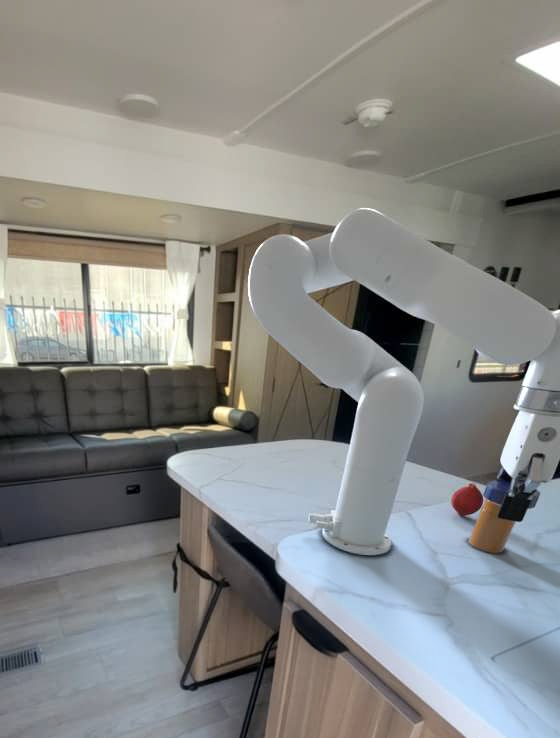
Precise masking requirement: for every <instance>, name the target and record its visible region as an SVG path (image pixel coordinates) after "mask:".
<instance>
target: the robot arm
mask: <svg viewBox="0 0 560 738" xmlns="http://www.w3.org/2000/svg"><path fill="white" fill-rule="evenodd" d="M247 281H248V282H247V290H248V297H249V302H250V306H251V309H252V312H253V314H254V316H255V317H256V319H257V321H258V323H259V325H260V326H261V327H262V328H263V329H264V331H266V333H267V334H268V335H269V336H271V338H272V339H274V340H275V341H276V342H277V343H278V344H279V345H281V346H282V347H283V348H284V349H285V350H286V351H287V352H288V353H290V355H291V356H292V357H294V358H295V359H296V361H298V362H299V363H300V364H301V365H302V366H304V367H305V368H306V369H307V370H309V371H310V372H311V373H312V374H313V375H314V376H315V377H316V378H318V380H319V381H320V382H321V383H323V384H324V385H325V386H327V387H329V388H333V389H341V390H343V391H344V392H345V394H347V395H348V396H350V397H351V399H353V400H355V402H357V403H358V404H357V406H356V407H357V408H356V412H355V418H354V423H353V428H352V432H351V438H350V442H349V447H348V452H347V456H346V460H345V465H344V471H343V475H342V480H341V483H340V488H339V493H338V498H337V502H336V506H335V509H331V510H330V513H326V514H325V515H322V514H317V513H309V514H308V518H307V519H308V520H307V522H308V524H314V525H315V529H321V530H322V533H321V534H322V536H323V538H324V539H325V541H327V542H328V543H329V544H330V545H331V546H333V547H335V548H337V549H339V550H342V551H345V552H348V553H351V554H356V555H362V556H378V555H382V554H383V555H384V554H385V553H387V552H389V551H390V549H391V547H392V542H393V541H392V538H391V537H390V536H389V534H387V532H386V531H387V527H388V524H389V520H390V517H391V513H392V510H393V506H394V503H395V500H396V496H397V493H398V490H399V486H400V483H401V480H402V475H403V473H404V469H405V465H406V462H407V460H408V459H407V458H408V455H409V452H410V448H411V445H412V443H413V439H414V436H415V434H416V431H417V428H418V425H419V423H420V420H421V416H422V414H423V410H424V404H425V395H424V390H423V386H422V385H421V383H420V381H419V379H418V378H417V376H416V375H415V374H414V373H413V372H412V371H411V370H410V369H409V368H407V367H406V366H405V365H403V364H402V363H401V362H400V361H399V360H397V359H396V358H395V357H394V356H392V355H391V354H390V353H388V352H387V351H386V350H385V349H384V348H383V347H382V346H380V345H379V344H378V343H377V342H375V341H374V340H373V339H372V338H370V337H369V336H368V335H366V334H365V333H363V332H362V331H359V330H356V329H351V328H349V327H347V326H346V325H345V324H343V322H340V320H338V319H337V318H336V317H334V316H333V315H332V314H330V312H328V310H326V308H325V307H323V306H322V305H320V304H319V303H318V302H317V301H315V300H314V299H313V298H312V297H311V296H310V295H309V294H310V293H314V292H317V291H321V290H326V289H329V288H332V287H337V286H340V285H343V284H347V283H349V282H353V281H355V282H357V283H359V284H360V285H362V286H364V287H365V288H366V289H368V290H370V291H371V292H373V293H375V294H376V295H377V296H380V298H383V299H384V300H386V301H387V302H389V303H391V304H392V305H393V306H395V307H397V308H398V309H400V310H401V311H403V312H405V313H407V314H409V315H411V316H412V317H416V318H417V319H421V320H424V321H427V322H429V323H431V324H434V325H435V326H436V327H437V326H438V327H439V328H440V329H443V330H445V331H446V332H448V333H449V334H451V335H453V336H454V337H456V338H458V339H459V340H461V341H463V342H464V343H465V344H467V345H469V346H470V347H473V348H474V349H475V351H476V353H477V354H478V355H479V356H480V357H482V358H484V359H486V360H488V361H491V362H494V363H497V364H500V365H504V366H505V365H506V366H515V365H521V364H525V363H527V362H529V365H528V368H527V371H526V373H525V375H524V378H523V381H522V383H521V386H520V389H519V391H518V392H519V393H518V395H517V397H516V399H515V403H514V405H513V409H514V410H516V411H518V413H517V416H516V417H515V419H514V422H513V424H512V426H511V429H510V432H509V434H508V436H507V439H506V441H505V444H504V446H503V448H502V452H501V456H500V461H499V462H500V464H501V468H500V469H499V472H498V473H497V478H496V479H495V480H499V481H509V482H511V486H510V491H509V494H505V497H504V499H503V502H502V504H501V507H500V509H499V512H498V514H497V516H498V518H500V519H505V520H511V521H516V523H521V522H523V520H524V518H525V515H526V514H527V511H528V510H529V509H528V507H529V504H530V502H531V500H532V499H533V496H534V492H536V491H537V490H538V488H539V487H540V486H541V484H542V483H543V484H547V483H550V482H551V481H552V479H553V478H554V474H555V473H556V470H557V467H558V465H559V462H560V309H557V310H550V309H549V308H548V307H547V306H545V305H544V304H542V303H540V302H539V301H537V300H535V299H534V298H532V297H531V296H529V295H527V294H526V293H524V292H522V291H521V290H519V289H517V288H515V287H513V286H512V285H510V284H509V283H507V282H505V281H503V280H501V279H500V278H498V277H496V276H494V275H492V274H490V273H488V272H486V271H485V270H482V269H480V268H478V267H476V266H474V265H472V264H470V263H469V262H467V261H465V260H464V259H462V258H460V257H458V256H456V255H454V254H453V253H452V254H451V253H449V252H448V251H446V250H445V249H443V248H441V247H439V246H437V245H436V244H434V243H433V242H431V241H429V240H427V239H425V238H424V237H422V236H420V235H419V234H418V233H416V232H414V231H412V230H410V229H409V228H408V227H406V226H404V225H402V224H400V223H399V222H397V221H396V220H394V219H392V218H391V217H389V216H387V215H385V214H384V213H382V212H380V211H378V210H376V209H374V208H368V207H360V208H357V209H355V210H352V211H351V212H349V213H347V214H346V215H345V216H344V217H343V218H341V220H340V221H339V222H338V224H337V225H336V227H335V228H334V230H333V232H330V233H329V232H328V233H327V234H324V235H321V236H318V237H315V238H311V239H309V240H305V241H302V240H301V239H299V238H298V237H296V236H294V235H291V234H285V233H282V234H281V233H280V234H275V235H273V236H270V237H269V238H267V239H266V240H264V241H263V242H262V243H261V244H260V245H259V246H258V248H257V249H256V251H255V253H254V255H253V257H252V259H251V263H250V267H249V271H248V280H247ZM522 475H527V476H522ZM518 483H519V484H521V485H519V487H518V488H517V486H518ZM491 502H492V501H491Z"/></svg>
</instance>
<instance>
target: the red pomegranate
mask: <svg viewBox="0 0 560 738" xmlns="http://www.w3.org/2000/svg"><path fill="white" fill-rule="evenodd" d="M450 504H451V507H452V509H453V510H455V512H456V513H457V515H458V516H460V517H466V516H470V515H473V514H475V513H477V512H478V511H481V509H482V507H483V505H484V495H483V493H482V491H480V489H479V488H478V487H477V485H476V484H475V483H474V482H469V483H468V485H466V486H463V487H461V488H459V489H457V490H456V491H455V492H454V493H453V494H452V496H451V499H450Z"/></svg>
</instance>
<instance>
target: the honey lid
mask: <svg viewBox="0 0 560 738" xmlns="http://www.w3.org/2000/svg"><path fill="white" fill-rule="evenodd" d="M519 483H520V482H519ZM519 483H518V486H517V488H518V487H519V485H521V484H522V483H520V484H519ZM510 486H511V482H509V481H499V480H496V479H495V480H490V481H488V482H487V484H486V487H485V490H484V492H483V493H482V495H483V498H485V500H486V499H488V500H489V501H492V502H494V503H497V504H500V505H501V504H502V502H503V499H504V497H505V494H509V491H510ZM540 496H541V492H540V490H538V489H537V491H536V492H534V496H533V499H532V500H531V502H530V504H529V507H528V509H527V510H530V509H531V510H532V509H534V508H535V507H536V505H537V503H538V501H539V498H540Z"/></svg>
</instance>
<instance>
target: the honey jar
mask: <svg viewBox="0 0 560 738" xmlns="http://www.w3.org/2000/svg"><path fill="white" fill-rule="evenodd" d="M500 507H501V505H500V504H497V503H494V502H491V501H489V500H488V499H486V498H485V499H484V500H483V504H482V507H481V508H480V510H479V514H478V516H477V519H476V522H475V524H474V527H473V529H472V531H471V534H470V537H469V538H468V543H469V544H470V545H471V546H472V547H474V548H475V549H478V550H480V551H483V552H486V553H491V554H500V553H502V552H503V551H504V550H505V548H506V545H507V543H508V540H509V538H510V536H511V534H512V532H513V529H514V527H515V525H516V523H517V522H516V521H511V520H505V519H500V518H498V516H497V514H498V512H499V509H500Z"/></svg>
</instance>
